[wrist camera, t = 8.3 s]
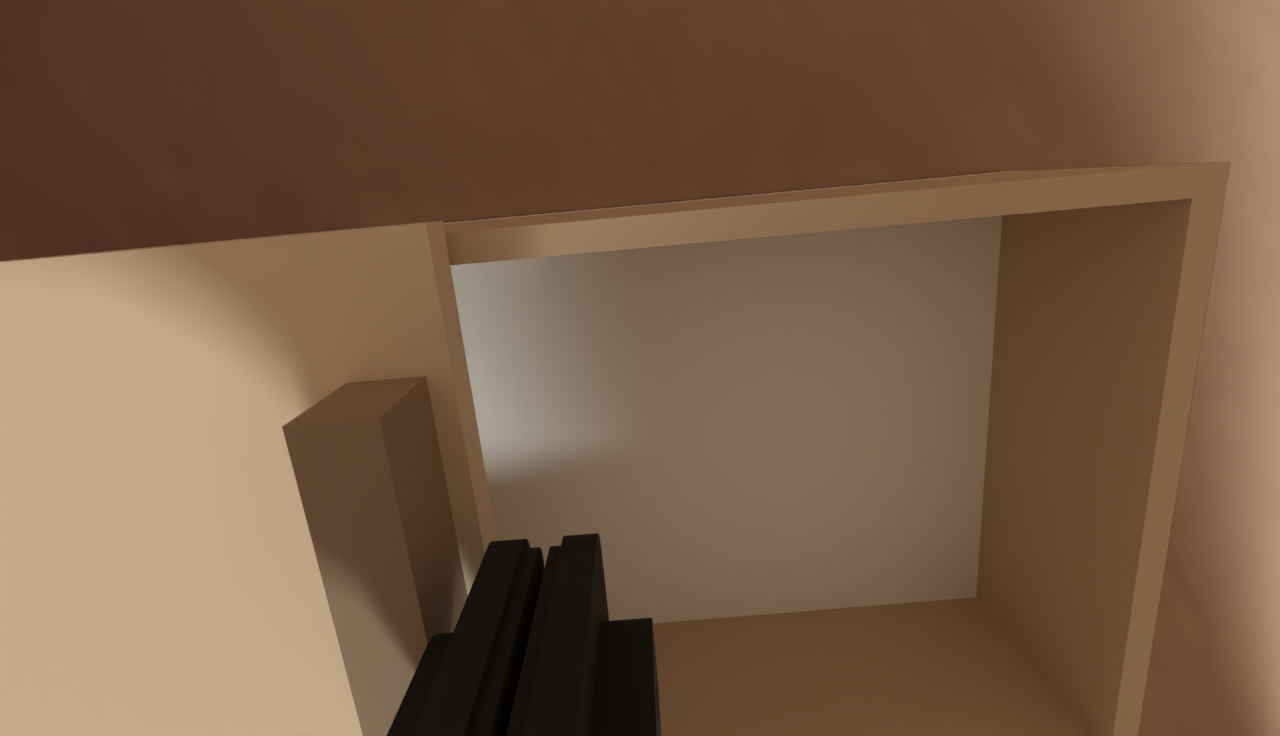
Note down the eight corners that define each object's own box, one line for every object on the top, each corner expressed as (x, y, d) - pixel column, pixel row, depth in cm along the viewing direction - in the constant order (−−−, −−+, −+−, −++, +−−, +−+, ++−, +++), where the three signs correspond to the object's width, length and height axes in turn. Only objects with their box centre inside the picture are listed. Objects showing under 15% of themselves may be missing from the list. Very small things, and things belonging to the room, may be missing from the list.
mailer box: (1007, 171, 15) (1230, 161, 10) (978, 593, 19) (1131, 774, 13) (359, 230, 16) (199, 255, 10) (443, 636, 19) (359, 833, 13)
